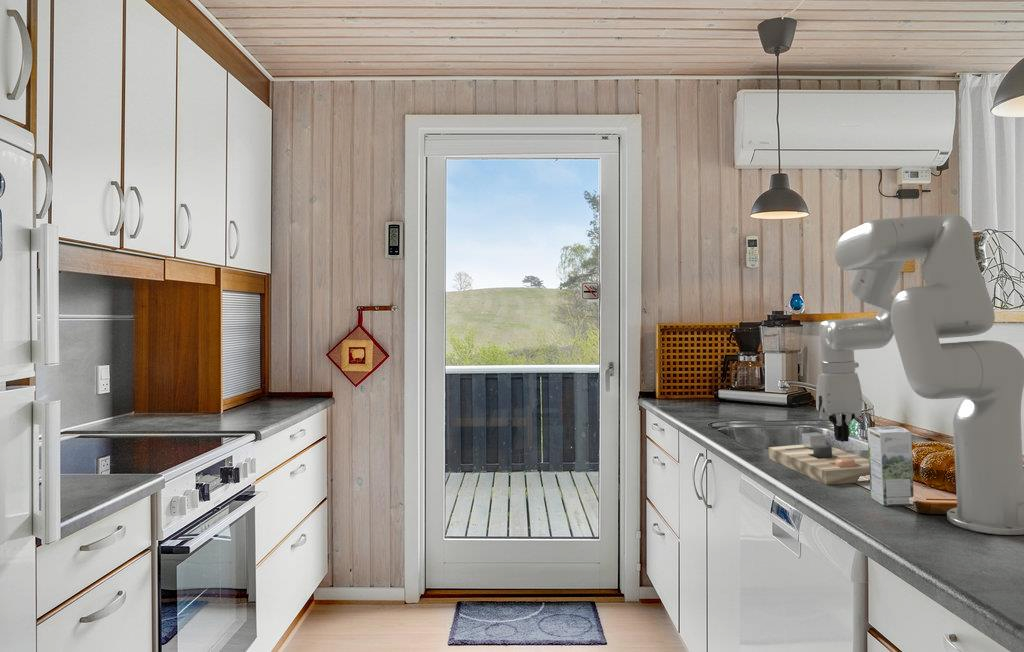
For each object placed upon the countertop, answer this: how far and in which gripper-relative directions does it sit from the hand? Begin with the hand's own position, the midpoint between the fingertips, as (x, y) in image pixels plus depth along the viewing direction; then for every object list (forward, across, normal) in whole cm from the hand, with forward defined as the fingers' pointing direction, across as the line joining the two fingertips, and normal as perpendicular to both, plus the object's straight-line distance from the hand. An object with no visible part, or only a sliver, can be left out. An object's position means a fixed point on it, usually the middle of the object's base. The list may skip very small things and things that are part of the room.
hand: (841, 440), depth 164 cm
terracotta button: (+3, +10, +18) cm, 21 cm away
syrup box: (+4, +12, +37) cm, 39 cm away
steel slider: (+1, +7, 0) cm, 7 cm away
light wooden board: (+4, +10, +9) cm, 14 cm away
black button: (+2, +10, +9) cm, 14 cm away
